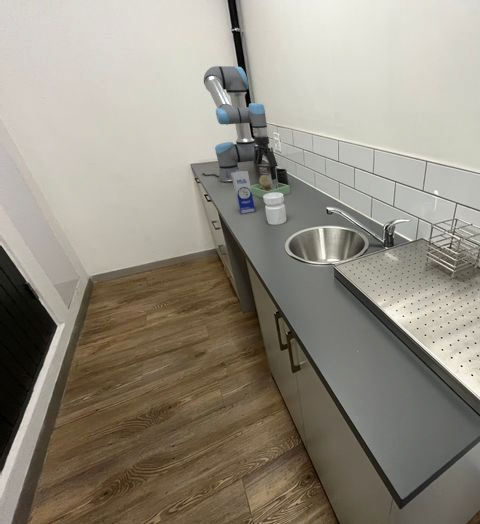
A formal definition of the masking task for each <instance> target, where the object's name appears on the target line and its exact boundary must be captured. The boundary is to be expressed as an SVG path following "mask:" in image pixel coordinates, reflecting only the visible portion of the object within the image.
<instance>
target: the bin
mask: <svg viewBox="0 0 480 524" xmlns="http://www.w3.org/2000/svg"><path fill="white" fill-rule="evenodd" d="M250 186H251V191H252V196H255V197H258V198H261V199H263V196H264V195H265V194H268V193H282V194H283V196H286V195H289V194H291V187H290V185H289V184H288V185H285V184H281V183H278V187H279V188H277V189H274V190H270V191H264V190H261V189H260V185H259V183H256V184H253V185H250Z"/></svg>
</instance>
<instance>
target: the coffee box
mask: <svg viewBox="0 0 480 524" xmlns="http://www.w3.org/2000/svg"><path fill="white" fill-rule="evenodd" d="M255 166H256V173H257V177H258V178H257V179H258V184H259V185H260V189H261V190H264V191H270V190H274V189H277V188H279V187H278V179H277V172H276V179H275V180H272V178H271V172H270V167H271V166H270V164H269V162H267V163H266V162H261V164H258V165H257V164H256V165H255ZM276 169H277V166H276V167H275V170H276Z"/></svg>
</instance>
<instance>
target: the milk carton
mask: <svg viewBox="0 0 480 524" xmlns="http://www.w3.org/2000/svg"><path fill="white" fill-rule="evenodd" d="M231 176H232V180H233V182H232V185H233V188H234V193H235V199H236V203H237V206H238V211H239V212H240V215H245V214H251V213H256V207H255V202H254V198H253V195H252V191H251V186H252V185H251V181H250V178H249V177H250V176H249V170H244V171H243V170H242V169H239V170H235V173H231Z"/></svg>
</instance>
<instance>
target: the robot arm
mask: <svg viewBox="0 0 480 524" xmlns="http://www.w3.org/2000/svg"><path fill="white" fill-rule="evenodd" d="M203 85H204V87H205V89H206V91H208V92H209V94H210V96H211V98H212V100H213V102H214V105H215V106H216V107H215V108H216V109H215V116H216V119H217V123H218V124H219V125H227V126H228V125H235V130H236V135H237V138H236V139H235V143H234V142H233V141H226V142H222V143H221V142H220V143H218V144H215V147H214V150H215V156H216V158H217V163H218V168H219V172H218V175H217V174H214V173H212V174H211V173H210V174H206V173H205V172H202V175H204V176H206V177H210V176H212V177H213V176H215V177H216V178H218V181H219V182H220V183H233V180H232V176H231V173H235V170H240V168H239V165H238V163H247V162H248V163H249V162H253V163H254V164H256V165H258V164H261V163H263V156H264V157H265V159H266V160H267V163H268V164H270V166H271V167H270V172H271V178H272V180H275V179H276V170H275V167H276V168H277V167H278V162H277V159H276V156H275V152H274V149H273V147H269V144H270V137H269V130H268V123H267V117H266V110H265V105H264V103H262V102H254V103H252V102H251V103H249V104H248V107H247V102H246V94H247V91H248V90H249V81H248V77H247V74H246V72H245V69H243V68H242V66H235V65H234V66H231V65H229V66H227V65H226V66H225V65H224V66H223V65H222V66H221V65H220V66H219V65H215V66H211V67H209V68H208V69H207V70H206V72H205V73H204V76H203ZM228 96H229V98H230V99H229V98H228ZM250 124H251V127H252V133H253V136H254V137H252V133H251V127H250Z"/></svg>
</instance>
